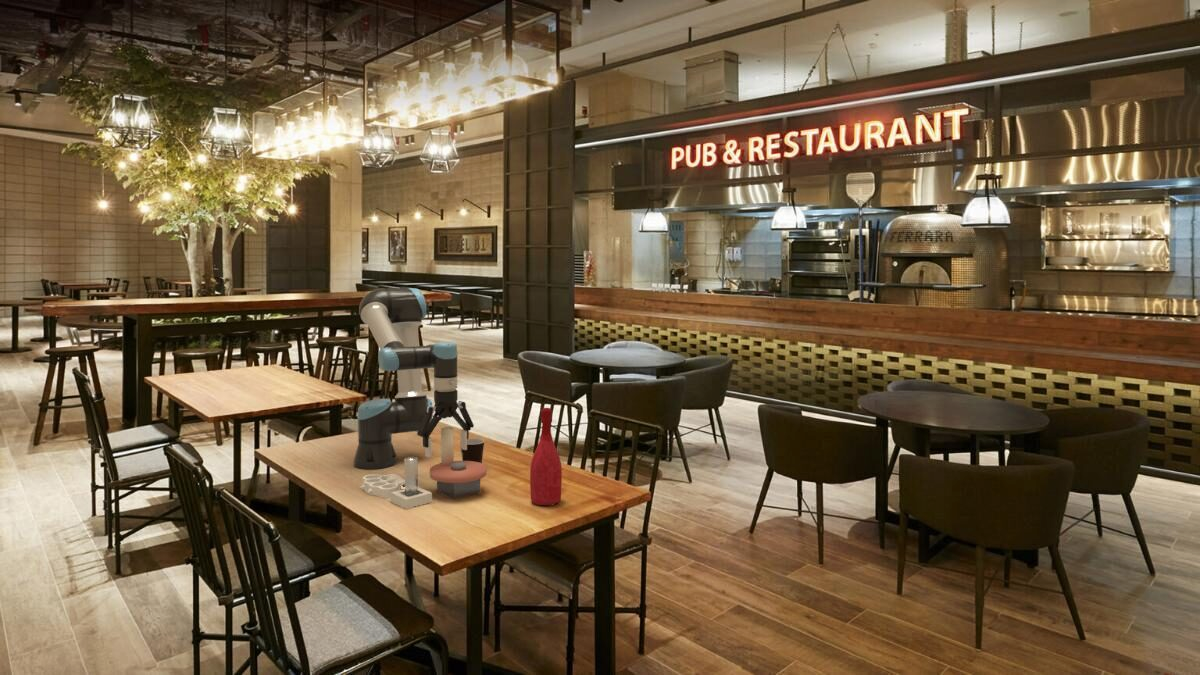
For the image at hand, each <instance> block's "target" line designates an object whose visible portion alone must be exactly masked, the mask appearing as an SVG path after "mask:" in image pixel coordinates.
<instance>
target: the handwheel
mask: <svg viewBox="0 0 1200 675" xmlns="http://www.w3.org/2000/svg"><path fill="white" fill-rule="evenodd" d="M454 440H455V439H454V427H453V426H442V427H441V428H440V451H441V452H440V456H441V461H440V462H441V463H437V464H434V465H432V466H431V467H430V469H429V478H430V479H431V480H433V481H435V482H437V481H439V482H444V483H465V482H471V481H476V480H479V479H480V480H482V479H483V478H485V477H486V476H487V475H488V474H487V465H485V464H484V463H483V462H482V463H479V462H474V461H462V460H455V458H454V457H455V456H454V454H455V453H454V452H455V450H454V448H455V447H454Z"/></svg>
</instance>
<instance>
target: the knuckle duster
mask: <svg viewBox="0 0 1200 675" xmlns="http://www.w3.org/2000/svg"><path fill="white" fill-rule="evenodd" d="M361 481H362V485H361V486H359V489H362V490H364V492H365V493H368V495H370V496H373V495H377V496H376V497H379V498H380V497H381V498H380V499H391V492H395V491H399V490H403V489H401V486H403V487H405V478H403V477H401V476H400V475H398V474H395V473H388V474H375V473H374V474H367V475H364V476H363V477H362V480H361Z"/></svg>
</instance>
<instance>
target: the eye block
mask: <svg viewBox="0 0 1200 675" xmlns="http://www.w3.org/2000/svg"><path fill="white" fill-rule="evenodd" d="M390 502H391V503H392V504H395V505H397V506H399V507H400V508H403V509H405V510H408V508H409V509H412V508H415V507H414V506H416V507H419V506H418V505H420V506H423V504H424V505H427V503H428V504H430V503H431V502H432V503H433V493H432V492H430V491H429V490H426V489H424V488H421V487H419V486H418V495H414V496H410V497H407V496H405V489H403V490H399V491H395V492H391V498H390ZM432 503H431V504H432ZM411 507H412V508H411Z"/></svg>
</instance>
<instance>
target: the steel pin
mask: <svg viewBox="0 0 1200 675" xmlns="http://www.w3.org/2000/svg"><path fill="white" fill-rule="evenodd" d="M403 461H404V462H403V463H404V464H403V465H404V466H403V467H404V472H403V473H404V479H405V496H407V497H410V496H414V495H418V487H419V474H418V472H419V467H418V462H419V461H418V457H417V456H406V457H404V458H403Z"/></svg>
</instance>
